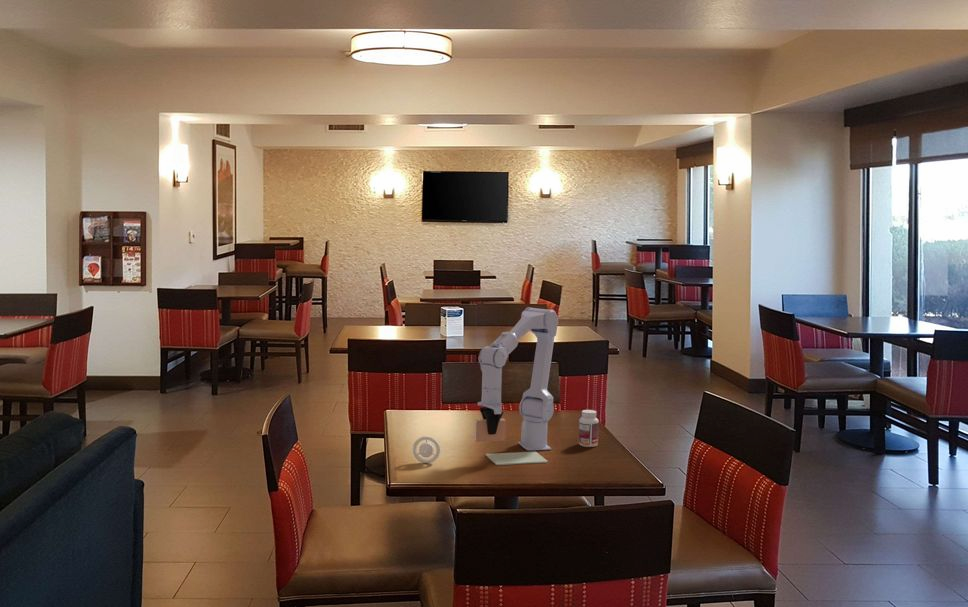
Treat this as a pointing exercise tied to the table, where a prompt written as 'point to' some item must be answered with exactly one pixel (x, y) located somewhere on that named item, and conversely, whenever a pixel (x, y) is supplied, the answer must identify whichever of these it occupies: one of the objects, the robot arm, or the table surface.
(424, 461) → the ring around a ball
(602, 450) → the table surface
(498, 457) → the mat
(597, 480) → the table surface
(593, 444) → the pill bottle
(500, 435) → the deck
